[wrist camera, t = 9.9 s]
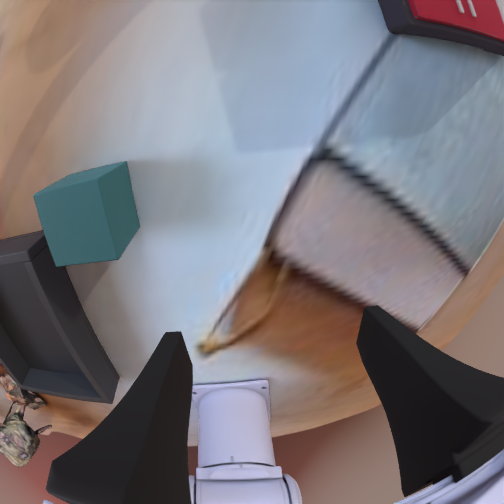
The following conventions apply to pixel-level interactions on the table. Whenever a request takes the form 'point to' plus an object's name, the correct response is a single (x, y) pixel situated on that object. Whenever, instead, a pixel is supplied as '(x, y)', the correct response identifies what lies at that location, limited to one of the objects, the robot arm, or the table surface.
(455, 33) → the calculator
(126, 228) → the block
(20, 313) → the tub
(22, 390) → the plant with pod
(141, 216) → the table surface
